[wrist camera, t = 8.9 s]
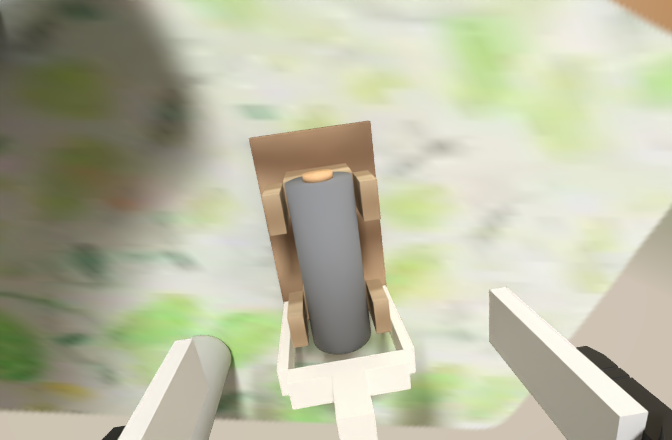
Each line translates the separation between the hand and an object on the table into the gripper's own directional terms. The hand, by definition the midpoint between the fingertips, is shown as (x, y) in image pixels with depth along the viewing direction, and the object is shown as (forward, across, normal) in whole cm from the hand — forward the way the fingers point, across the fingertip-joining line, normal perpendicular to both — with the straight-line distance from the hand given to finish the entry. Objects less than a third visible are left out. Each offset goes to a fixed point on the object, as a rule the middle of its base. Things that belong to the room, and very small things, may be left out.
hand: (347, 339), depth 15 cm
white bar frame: (+13, 0, -6) cm, 15 cm away
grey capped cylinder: (+9, 0, 0) cm, 9 cm away
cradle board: (+14, 0, 0) cm, 14 cm away
